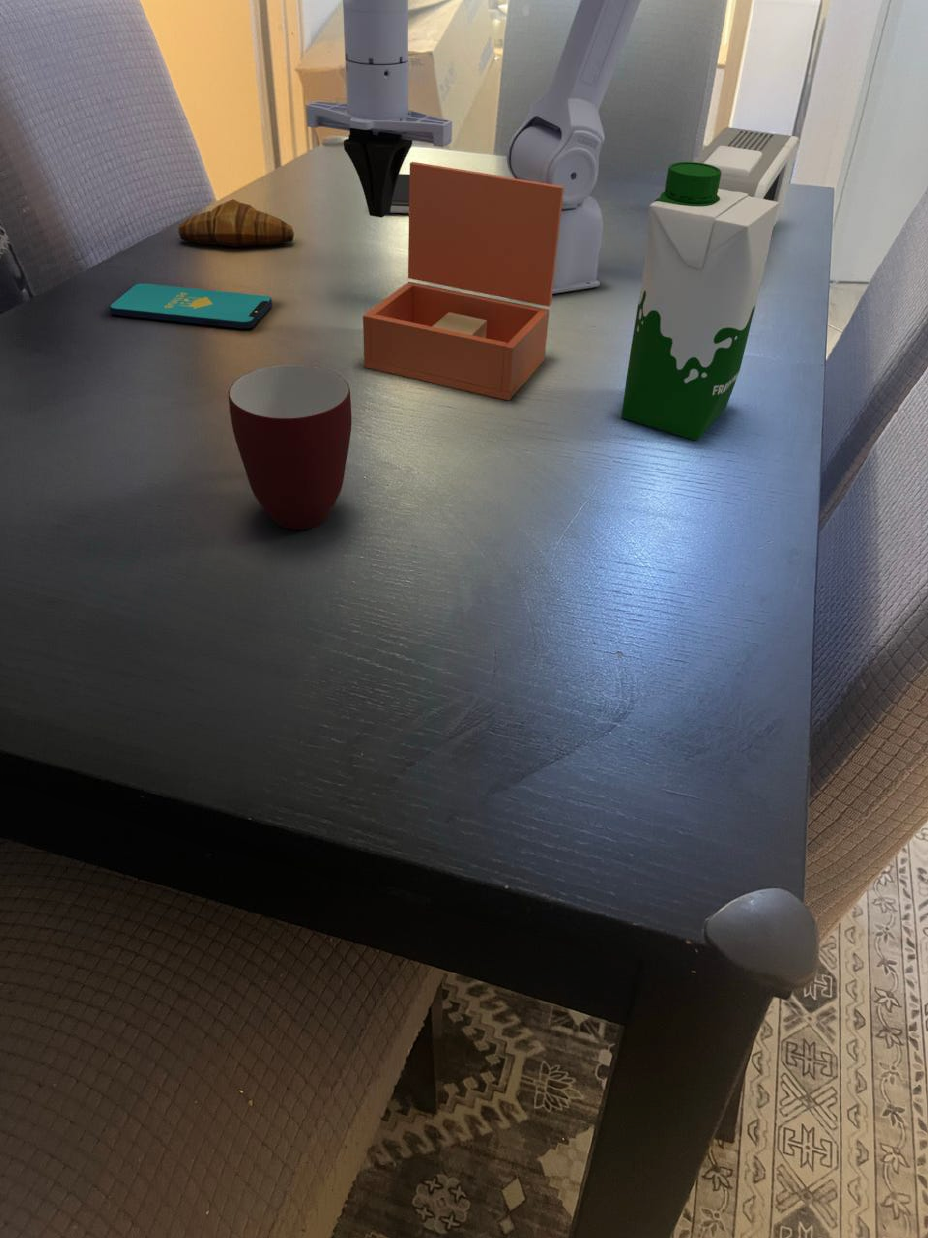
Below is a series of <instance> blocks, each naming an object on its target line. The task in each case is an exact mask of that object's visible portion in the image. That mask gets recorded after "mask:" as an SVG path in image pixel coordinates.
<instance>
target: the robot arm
mask: <svg viewBox="0 0 928 1238" xmlns="http://www.w3.org/2000/svg"><path fill="white" fill-rule="evenodd" d="M641 1H642V0H580V1H579V5H578V7H577V9H576V13H575V16H574V18H573V22H572V24H571V27H570V29H569V32H568V36H567V38H566V41H565V44H564V46H563V50H562V52H561V54H560V58H559V60H558V63H557V66H556V69H555V72H554V75H553V78H552V81H551V83H550V86H549V88H548V90H547V91H546V92H545V93H544V94H543V95H542V96H540V97H539V98H537V100H535V101H534V102H533V103H532V104H531V106H530V107H529V110H528V113H527V115H526V118H525V120H524V121H523V123H522V125H521V126H520V127H519V128H518V129H517V130H516V131H515V132H514V134H513V135H512V137H511V138H510V141H509V142H508V146H507V149H506V164H507V168H508V171H509V173H510V174H511V176H512V178H516V179H522V180H528V181H534V182H540V183H547V184H553V185H559V186H564V192H563V201H562V210H561V219H560V228H559V237H558V246H557V255H556V264H555V273H554V282H553V291H552V295H555V294H561V293H566V292H573V291H580V290H586V289H592V288H598V287H600V283H601V282H600V281H599V280H598V279H597V276H598V268H599V261H600V253H601V246H602V245H601V244H602V237H603V230H604V229H603V227H604V222H603V214H602V209H601V207H600V205H599V204H598V202H597V200H596V199H595V198H594V197H593V196H590V195H591V193H592V191H593V189H594V188H595V186H596V184H597V180H598V177H599V172H600V171H599V169H600V168H599V167H600V166H599V165H600V164H599V163H600V161H599V159H600V155H601V150H602V147H603V145H604V142H605V139H606V138H605V132H604V129H603V124H602V121H601V117H600V112H599V110H600V108H601V106H602V103H603V101H604V98H605V95H606V92H607V90H608V86H609V84H610V82H611V80H612V77H613V74H614V72H615V69H616V67H617V64H618V61H619V58H620V56H621V53H622V50H623V49H624V46H625V43H626V40H627V38H628V35H629V32H630V29H631V27H632V25H633V23H634V19H635V17H636V14H637V12H638V9H639V6H640V3H641ZM342 9H343V11H342V12H343V35H344V59H345V85H346V87H345V88H346V103H345V102H331V101H330V102H329V101H321V100H314V101H312V102H310V103H307V104H305V113H306V126H307V128H315V129H317V128H320V127H321V128H329V129H335V130H341V131H347V132H348V131H349V134H348V137H347V138H346V139H344V140H343V149H344V151H345V153H346V155H347V156H348V158H349V160H350V161H351V164H352V165H353V167H354V169H355V172H356V175H357V176H358V179H359V182H360V185H361V188H362V191H363V194H364V197H365V198H364V199H365V202H366V206H367V209H368V210H367V211H368V215H369V216H370V217H376V218H384V217H385V216H387V215H388V214H390V213H391V212H390V210H391V204H392V198H393V194H394V190H395V186H396V182H397V179H398V176H399V174H401V171H402V167H403V165H404V163H405V160H406V157H407V156H408V155H409V151H410V150H411V148H412V146H413V142H420V143H426V144H433V145H432V146H434V147H438V148H444V147H446V146H448V145H450V144H452V142H453V139H452V138H453V120H450V119H445V118H441V117H436V116H432V115H428V114H424V113H422V112H417V111H413V110H410V109H409V1H408V0H342Z"/></svg>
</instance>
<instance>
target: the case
mask: <svg viewBox="0 0 928 1238" xmlns="http://www.w3.org/2000/svg"><path fill="white" fill-rule="evenodd" d="M449 312H450V313H454V314H459V315H464V316H469V317H474V318H478V319H483V320H487V331H486V338H482V337H478V336H473V335H468V334H464V333H459V332H454V331H450V330H445V329H440V328H436V327H432V326H433V325H434V324H436V323H437V322H438V321H439V320H440V319H441V318H443V317H444V316H445V315H446V314H447V313H449ZM549 318H550V309H547V308H542V307H539V306H532V305H528V304H523V303H518V302H513V301H508V300H507V301H506V300H502V299H497V298H493V297H487V296H483V295H478V294H474V293H473V294H472V293H468V292H463V291H458V290H454V289H448V288H443V287H438V286H433V285H430V284H429V285H428V284H424V283H418V282H413V281H407V282H406V283H405V284H403V285H402V286H401V287H399V288H398V289H397V290H396V291H394V292H393V293H391V294H390V295H389V296H387V297H386V298H385V299H383V300H382V301H381V302H379V303H378V304H376V305H375V306H374V307H373V308H371V309H370V310H368V311H367V312H366V313H364V314H363V315H362V333H363V335H362V337H363V366H364V368H366V369H370V370H374V371H375V370H376V371H380V372H384V373H389V374H393V375H397V376H402V377H405V378H410V379H414V380H418V381H423V382H427V383H432V384H434V385H435V384H436V385H440V386H445V387H449V388H453V389H457V390H460V391H461V390H462V391H465V392H470V393H474V394H478V395H483V396H487V397H492V398H496V399H499V400H504V401H510V400H511V399H512V398H513V397H514V395H516V394H517V392H518V391H519V390H520V388H521V387H523V385H524V384H525V383H526V382H527V380H529V378H531V376H532V375H533V374H534V373H535V371H536V370H537V369H538V368H539V367H540V366H541V365H542V363H543V362H544V361H545V359H546V350H547V339H548V328H549Z"/></svg>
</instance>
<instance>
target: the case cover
mask: <svg viewBox="0 0 928 1238" xmlns="http://www.w3.org/2000/svg"><path fill="white" fill-rule="evenodd" d="M409 175H410V178H409V213H408V239H407V242H408V243H407V244H408V245H407V246H408V247H407V279H409V280H414V281H415V280H416V281H420V282H423V283H430V284H435V285H439V286H444V287H449V288H455V289H460V290H464V291H468V292H474V293H478V294H479V293H480V294H484V295H489V296H493V297H498V298H499V297H500V298H504V299H509V300H515V301H520V302H525V303H530V304H533V305H538V306H545V307H550V306H551V305H552V301H553V300H552V299H553V294H552V291H553V282H554V273H555V264H556V255H557V246H558V237H559V228H560V219H561V210H562V201H563V192H564V186H559V185H553V184H547V183H540V182H534V181H528V180H522V179H516V178H514V177H510V176H509V177H508V176H503V175H496V174H491V173H486V172H485V173H484V172H479V171H478V172H477V171H473V170H472V171H471V170H466V169H465V170H464V169H459V168H454V167H448V166H447V167H446V166H441V165H435V164H428V163H422V162H417V161H411V162H409Z"/></svg>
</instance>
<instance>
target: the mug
mask: <svg viewBox="0 0 928 1238" xmlns="http://www.w3.org/2000/svg"><path fill="white" fill-rule="evenodd" d="M351 399H352V398H351V389H350V385H349V383H348V382H347V381H346V380H345V378H344V377H342V376H341V375H340V374H338V373H336V372H334V371H332V370H329V369H326V368H324V367H321V366H315V365H308V364H296V363H295V364H292V363H291V364H277V365H270V366H265V367H260V368H257V369H255V370H252V371H249V372H247V373H245V374H243V375H241V376H239V377H238V378H237V379H236V380H235V381H234V382H232V384H231V385H230V387H229V389H228V405H229V414H230V422H231V428H232V432H233V433H232V434H233V436H234V440H235V443H236V446H237V449H238V453H239V455H240V458H241V462H242V465H243V468H244V471H245V475H246V477H247V480H248V484H249V486H250V488H251V491H252V493H253V494H254V495H253V496H254V497H255V498H256V500H257V502H258V503H259V504H260V506H261V508H263V510H264V511H265V512H266V513H267V515H268V516H269V517H270V518H271V520H272V521H273V522H274V523H275V524H276V525H278V526H279V527H281V528H282V529H283V528H284V529H287V530H293V531H304V530H309V529H313V528H316V527H318V526H320V525H322V524H323V523H324V522H325V521H326V520H327V518H328V517H329V514H330V513H331V511H332V509H333V508H334V506H335V504H336V503H337V500H338V498H339V496H340V494H341V492H342V489H343V486H344V482H345V481H344V480H345V474H346V467H347V461H348V460H347V459H348V454H349V446H350V440H351V433H352V402H351V401H352V400H351Z"/></svg>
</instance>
